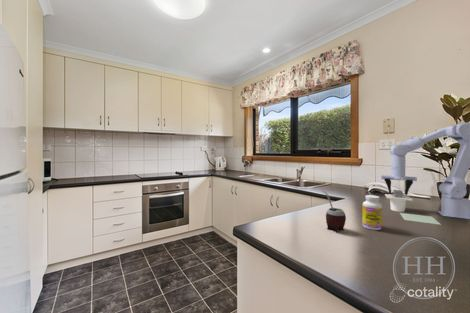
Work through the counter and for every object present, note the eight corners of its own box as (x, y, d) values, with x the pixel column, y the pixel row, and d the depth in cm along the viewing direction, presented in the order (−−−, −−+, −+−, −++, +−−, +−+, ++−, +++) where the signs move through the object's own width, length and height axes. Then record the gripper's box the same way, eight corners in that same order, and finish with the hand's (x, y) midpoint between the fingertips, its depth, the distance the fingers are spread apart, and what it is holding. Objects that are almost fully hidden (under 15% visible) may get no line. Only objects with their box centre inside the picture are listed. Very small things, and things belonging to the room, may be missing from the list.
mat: (432, 217, 96) (432, 216, 96) (441, 225, 86) (441, 224, 86) (399, 213, 102) (399, 212, 102) (404, 220, 92) (404, 219, 92)
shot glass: (409, 213, 104) (409, 199, 104) (395, 212, 104) (396, 199, 104) (399, 209, 111) (399, 196, 111) (386, 209, 111) (386, 196, 111)
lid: (408, 197, 109) (408, 190, 109) (412, 200, 100) (412, 193, 100) (384, 195, 114) (385, 188, 114) (387, 198, 105) (387, 191, 105)
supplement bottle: (362, 228, 83) (363, 197, 82) (361, 223, 89) (361, 194, 88) (383, 231, 80) (383, 198, 79) (380, 226, 85) (380, 195, 85)
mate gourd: (348, 233, 78) (348, 194, 77) (325, 232, 79) (326, 193, 79) (342, 226, 85) (342, 190, 85) (321, 225, 87) (321, 189, 86)
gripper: (382, 167, 107) (381, 193, 108) (418, 169, 100) (418, 196, 100) (380, 167, 113) (380, 191, 114) (415, 168, 106) (414, 194, 106)
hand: (397, 193), depth 107 cm, fingers open, 6 cm apart
